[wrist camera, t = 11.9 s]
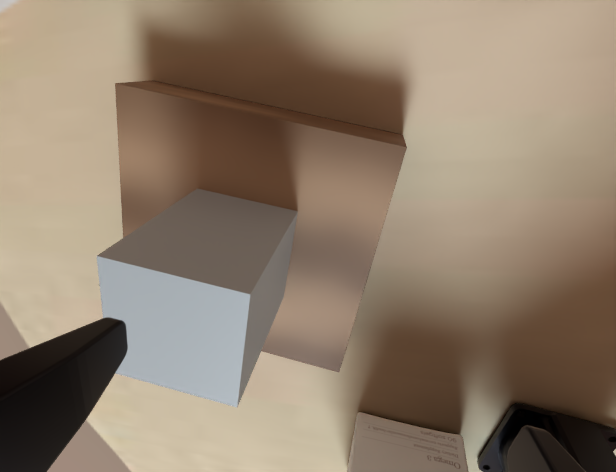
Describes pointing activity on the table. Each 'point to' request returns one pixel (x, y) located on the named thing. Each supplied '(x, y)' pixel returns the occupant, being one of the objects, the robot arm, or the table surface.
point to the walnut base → (269, 194)
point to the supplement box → (403, 448)
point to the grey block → (199, 292)
